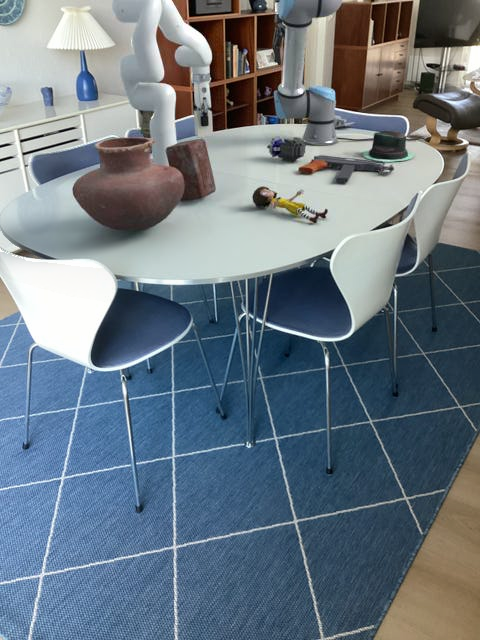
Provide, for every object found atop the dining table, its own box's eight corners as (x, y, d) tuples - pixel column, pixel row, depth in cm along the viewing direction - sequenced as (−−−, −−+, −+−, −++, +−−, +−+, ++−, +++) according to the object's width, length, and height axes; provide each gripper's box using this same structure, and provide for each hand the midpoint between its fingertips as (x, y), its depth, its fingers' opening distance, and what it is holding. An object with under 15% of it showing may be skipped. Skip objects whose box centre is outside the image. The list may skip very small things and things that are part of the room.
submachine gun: (291, 170, 202) (317, 154, 221) (291, 177, 204) (317, 161, 222) (376, 180, 189) (396, 162, 207) (375, 188, 190) (395, 170, 209)
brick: (212, 136, 235) (211, 111, 230) (198, 137, 234) (196, 112, 229) (209, 133, 240) (208, 109, 235) (195, 134, 238) (193, 110, 233)
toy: (275, 134, 227) (308, 138, 220) (275, 155, 231) (307, 159, 224) (264, 138, 221) (297, 142, 214) (264, 160, 225) (297, 164, 218)
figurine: (311, 212, 157) (243, 186, 169) (307, 236, 161) (241, 209, 173) (335, 200, 165) (269, 176, 178) (331, 223, 170) (266, 198, 182)
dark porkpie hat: (354, 155, 225) (369, 146, 240) (391, 182, 222) (404, 171, 237) (375, 123, 215) (389, 115, 230) (414, 151, 213) (426, 141, 228)
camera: (330, 99, 279) (356, 102, 271) (329, 123, 285) (354, 127, 277) (320, 101, 274) (346, 105, 265) (319, 126, 280) (344, 130, 271)
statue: (170, 147, 247) (164, 74, 232) (162, 152, 239) (156, 77, 224) (146, 146, 250) (139, 74, 234) (138, 151, 242) (130, 77, 226)
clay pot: (119, 206, 179) (108, 126, 166) (203, 217, 169) (199, 132, 156) (58, 240, 155) (40, 149, 142) (152, 255, 144) (142, 159, 132)
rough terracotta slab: (94, 159, 190) (189, 144, 170) (112, 152, 198) (205, 137, 178) (110, 208, 198) (203, 199, 177) (127, 200, 205) (218, 190, 185)
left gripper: (215, 80, 219) (216, 127, 228) (204, 75, 233) (206, 120, 242) (196, 81, 217) (199, 129, 226) (187, 76, 231) (190, 121, 241)
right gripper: (301, 13, 245) (299, 66, 256) (280, 12, 265) (280, 61, 276) (285, 14, 243) (284, 66, 254) (266, 12, 264) (265, 61, 274)
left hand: (203, 124), depth 234 cm, fingers closed on brick, 5 cm apart
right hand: (282, 64), depth 265 cm, fingers open, 13 cm apart
